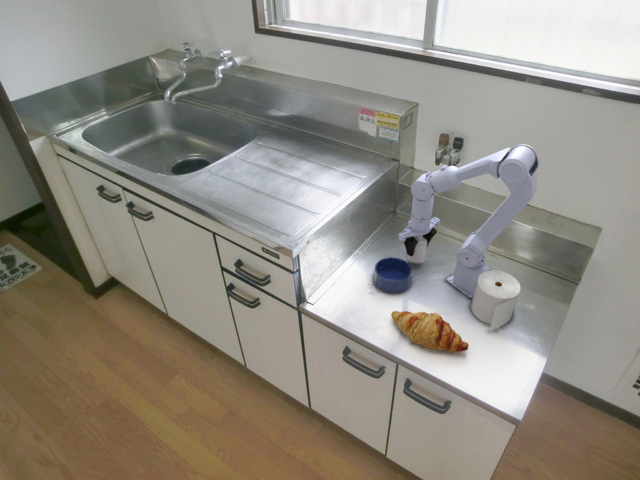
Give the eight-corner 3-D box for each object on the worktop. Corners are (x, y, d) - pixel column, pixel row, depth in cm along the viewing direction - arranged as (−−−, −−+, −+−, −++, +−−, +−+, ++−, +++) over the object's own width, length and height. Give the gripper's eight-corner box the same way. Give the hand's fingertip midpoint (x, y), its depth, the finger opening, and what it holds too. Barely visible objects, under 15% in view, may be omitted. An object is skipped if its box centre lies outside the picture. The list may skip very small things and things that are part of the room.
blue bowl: (417, 283, 133) (419, 271, 130) (390, 298, 129) (391, 286, 126) (393, 264, 140) (394, 252, 137) (366, 278, 136) (367, 266, 133)
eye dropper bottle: (419, 267, 137) (423, 235, 129) (403, 259, 140) (407, 228, 132) (427, 260, 139) (431, 228, 132) (411, 252, 142) (415, 221, 135)
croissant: (385, 333, 123) (379, 324, 116) (401, 301, 126) (396, 290, 119) (461, 368, 113) (459, 361, 106) (476, 333, 116) (476, 323, 109)
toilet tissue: (497, 293, 129) (505, 267, 123) (522, 324, 120) (532, 297, 114) (463, 300, 127) (470, 274, 121) (486, 332, 118) (494, 305, 112)
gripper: (429, 199, 135) (424, 236, 143) (392, 216, 129) (389, 253, 137) (447, 210, 130) (441, 247, 139) (409, 227, 124) (405, 265, 132)
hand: (416, 251), depth 137 cm, fingers closed on eye dropper bottle, 5 cm apart
